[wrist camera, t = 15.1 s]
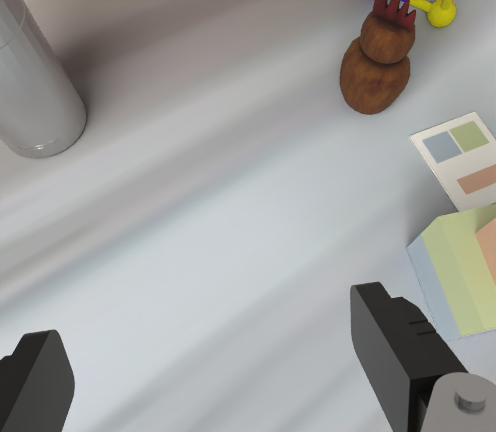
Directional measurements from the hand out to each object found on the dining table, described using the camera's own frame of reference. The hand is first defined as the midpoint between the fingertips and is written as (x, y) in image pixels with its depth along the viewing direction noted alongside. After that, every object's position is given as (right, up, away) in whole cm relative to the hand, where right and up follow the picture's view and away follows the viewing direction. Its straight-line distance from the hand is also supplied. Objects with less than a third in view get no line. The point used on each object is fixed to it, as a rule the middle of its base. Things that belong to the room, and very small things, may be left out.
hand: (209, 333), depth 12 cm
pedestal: (+22, -3, +29) cm, 36 cm away
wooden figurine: (+14, +16, +37) cm, 43 cm away
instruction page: (+24, +9, +34) cm, 42 cm away
